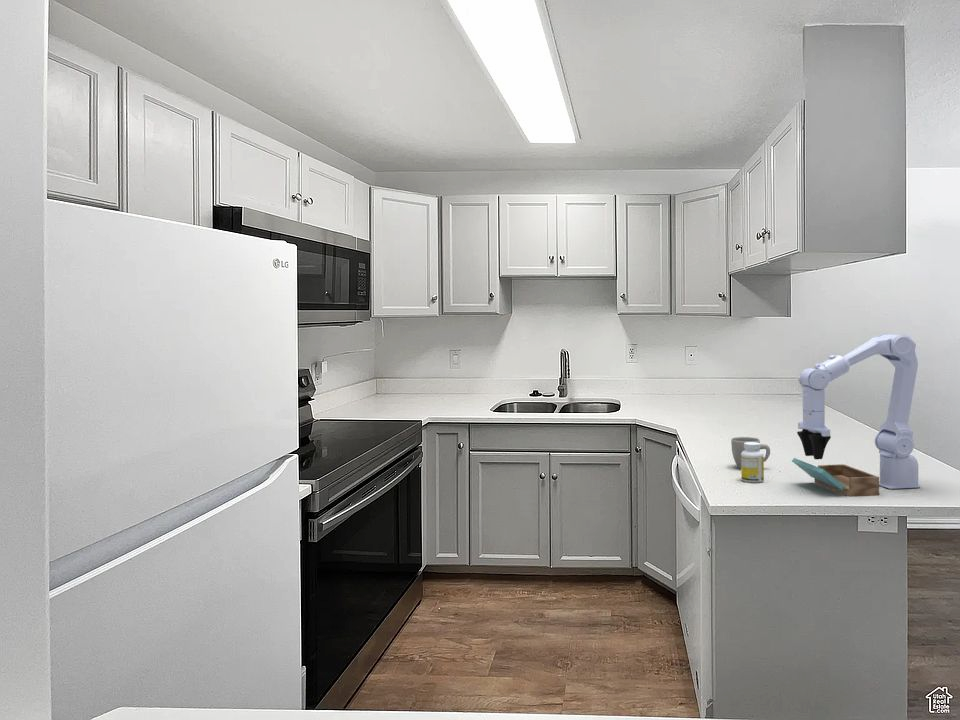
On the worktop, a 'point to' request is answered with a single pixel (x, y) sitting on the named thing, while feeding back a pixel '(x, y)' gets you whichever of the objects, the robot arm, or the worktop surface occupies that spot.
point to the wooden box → (851, 480)
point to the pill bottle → (752, 463)
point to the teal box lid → (818, 474)
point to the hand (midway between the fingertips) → (813, 457)
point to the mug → (739, 448)
